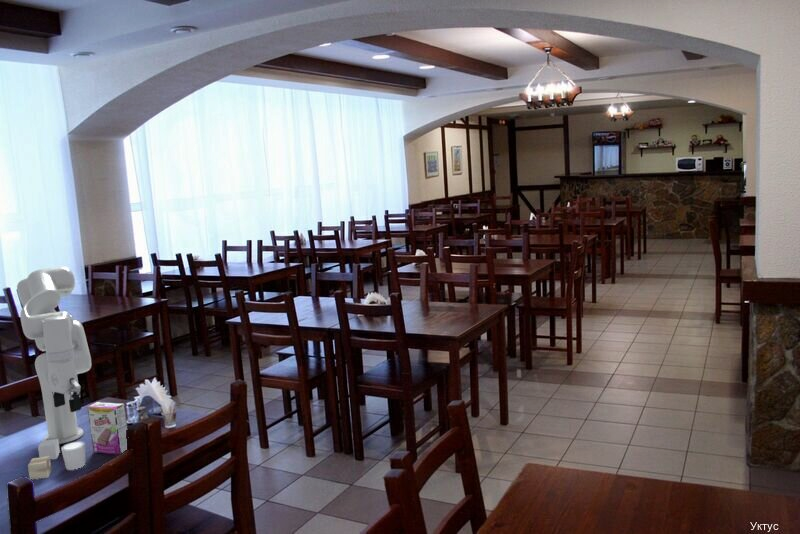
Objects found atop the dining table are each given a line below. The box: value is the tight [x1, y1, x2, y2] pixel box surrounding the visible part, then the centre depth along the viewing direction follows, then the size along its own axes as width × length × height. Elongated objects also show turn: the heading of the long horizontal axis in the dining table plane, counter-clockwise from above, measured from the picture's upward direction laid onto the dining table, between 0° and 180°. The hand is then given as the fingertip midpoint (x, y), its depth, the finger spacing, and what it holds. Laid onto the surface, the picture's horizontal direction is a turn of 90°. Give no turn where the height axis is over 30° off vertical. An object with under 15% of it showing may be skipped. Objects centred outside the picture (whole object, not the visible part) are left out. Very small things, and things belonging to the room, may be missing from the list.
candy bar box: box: [87, 401, 128, 456], centre depth 221 cm, size 11×5×16 cm, turn 74°
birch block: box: [27, 456, 52, 481], centre depth 207 cm, size 5×5×5 cm
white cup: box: [60, 441, 86, 471], centre depth 212 cm, size 7×7×7 cm
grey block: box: [37, 439, 61, 460], centre depth 221 cm, size 5×5×5 cm
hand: (67, 408), depth 209 cm, fingers open, 9 cm apart
